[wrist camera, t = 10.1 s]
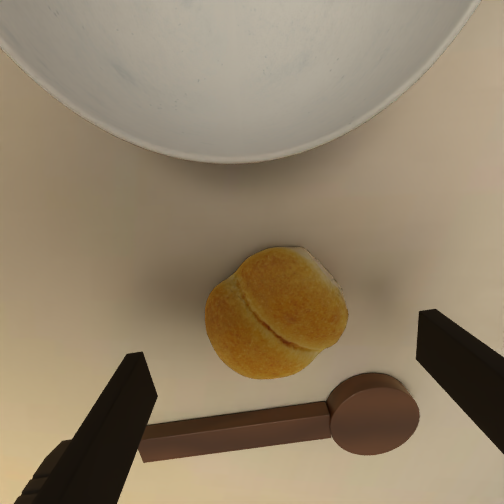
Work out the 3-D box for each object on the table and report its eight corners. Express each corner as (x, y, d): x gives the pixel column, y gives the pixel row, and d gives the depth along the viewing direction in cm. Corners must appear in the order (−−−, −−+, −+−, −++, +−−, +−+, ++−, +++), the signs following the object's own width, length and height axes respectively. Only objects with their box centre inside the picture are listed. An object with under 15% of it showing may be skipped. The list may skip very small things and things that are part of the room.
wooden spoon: (133, 405, 20) (125, 422, 18) (409, 367, 19) (422, 381, 18) (155, 465, 22) (149, 484, 20) (406, 432, 21) (417, 449, 20)
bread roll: (186, 310, 17) (169, 347, 14) (282, 221, 16) (293, 235, 12) (266, 378, 19) (271, 428, 16) (360, 305, 18) (391, 340, 14)
